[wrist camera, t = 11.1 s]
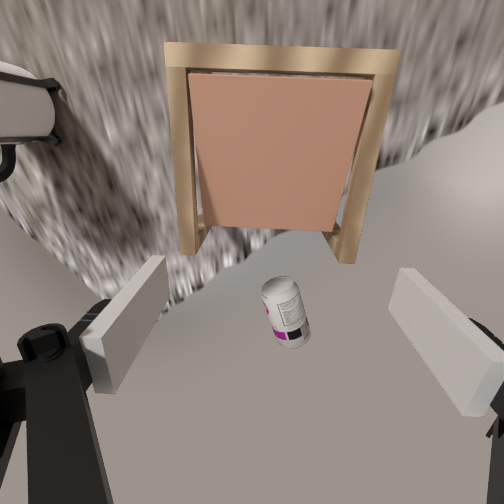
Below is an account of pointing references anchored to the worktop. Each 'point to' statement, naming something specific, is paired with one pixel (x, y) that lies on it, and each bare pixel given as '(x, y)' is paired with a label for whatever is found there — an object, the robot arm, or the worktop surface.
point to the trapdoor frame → (288, 63)
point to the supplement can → (286, 312)
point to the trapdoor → (274, 147)
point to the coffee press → (24, 113)
